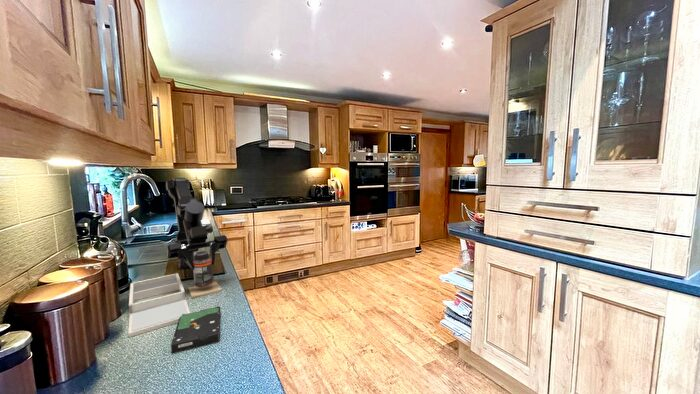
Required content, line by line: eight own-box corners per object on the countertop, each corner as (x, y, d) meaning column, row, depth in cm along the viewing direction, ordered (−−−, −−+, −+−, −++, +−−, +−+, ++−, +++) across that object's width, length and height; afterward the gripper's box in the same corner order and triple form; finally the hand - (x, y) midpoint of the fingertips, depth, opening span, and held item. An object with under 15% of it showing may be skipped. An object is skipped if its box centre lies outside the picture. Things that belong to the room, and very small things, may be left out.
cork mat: (188, 289, 98) (188, 287, 98) (216, 282, 103) (215, 280, 103) (192, 298, 91) (192, 296, 90) (221, 290, 96) (221, 289, 96)
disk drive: (220, 343, 68) (220, 314, 82) (220, 333, 68) (220, 305, 81) (171, 356, 64) (180, 323, 77) (170, 345, 64) (179, 313, 77)
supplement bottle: (204, 279, 101) (202, 249, 99) (217, 281, 99) (215, 251, 97) (190, 286, 95) (187, 254, 94) (203, 288, 93) (201, 256, 92)
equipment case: (131, 292, 96) (130, 283, 95) (178, 282, 104) (177, 273, 104) (128, 337, 70) (127, 324, 70) (191, 318, 79) (190, 306, 78)
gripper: (164, 220, 91) (173, 261, 84) (224, 213, 103) (235, 249, 96) (163, 239, 98) (171, 278, 91) (219, 230, 110) (230, 264, 103)
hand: (203, 267), depth 95 cm, fingers closed on supplement bottle, 6 cm apart
